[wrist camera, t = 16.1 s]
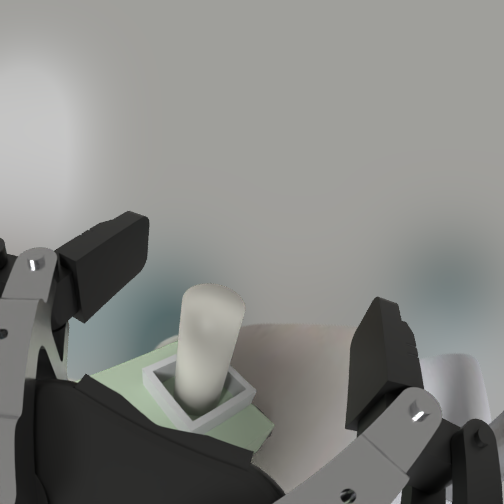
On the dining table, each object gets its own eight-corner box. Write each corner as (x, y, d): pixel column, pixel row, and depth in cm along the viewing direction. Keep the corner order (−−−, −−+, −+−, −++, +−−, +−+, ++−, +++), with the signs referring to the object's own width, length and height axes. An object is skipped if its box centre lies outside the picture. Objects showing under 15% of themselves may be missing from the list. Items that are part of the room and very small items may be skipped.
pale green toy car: (265, 444, 34) (293, 404, 29) (130, 528, 20) (114, 516, 15) (191, 368, 43) (199, 316, 38) (64, 423, 29) (39, 375, 23)
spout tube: (228, 402, 31) (258, 311, 24) (192, 423, 28) (208, 334, 21) (200, 372, 34) (218, 277, 27) (165, 390, 30) (170, 293, 23)
